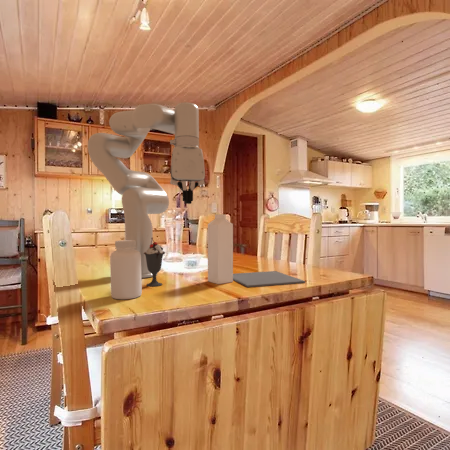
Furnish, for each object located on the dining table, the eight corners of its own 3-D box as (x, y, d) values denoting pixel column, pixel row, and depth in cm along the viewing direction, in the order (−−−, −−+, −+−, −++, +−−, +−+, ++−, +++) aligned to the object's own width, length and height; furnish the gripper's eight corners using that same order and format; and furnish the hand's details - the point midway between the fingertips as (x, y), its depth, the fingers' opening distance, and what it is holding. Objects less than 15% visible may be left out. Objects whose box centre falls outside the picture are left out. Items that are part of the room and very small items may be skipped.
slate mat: (247, 287, 101) (247, 285, 101) (225, 275, 120) (225, 274, 120) (305, 282, 107) (305, 281, 107) (275, 272, 126) (275, 270, 126)
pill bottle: (114, 293, 94) (114, 239, 93) (143, 292, 94) (143, 239, 94) (107, 300, 86) (106, 242, 85) (139, 299, 87) (138, 241, 86)
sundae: (146, 288, 100) (146, 238, 99) (141, 284, 106) (140, 236, 105) (168, 285, 103) (167, 237, 102) (161, 282, 109) (161, 236, 108)
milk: (218, 284, 105) (217, 214, 104) (207, 281, 110) (207, 214, 109) (233, 282, 109) (233, 214, 108) (222, 279, 114) (222, 214, 113)
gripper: (164, 140, 98) (165, 203, 99) (213, 143, 103) (214, 203, 104) (161, 145, 105) (162, 204, 106) (206, 148, 110) (207, 204, 111)
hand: (187, 203), depth 105 cm, fingers closed
